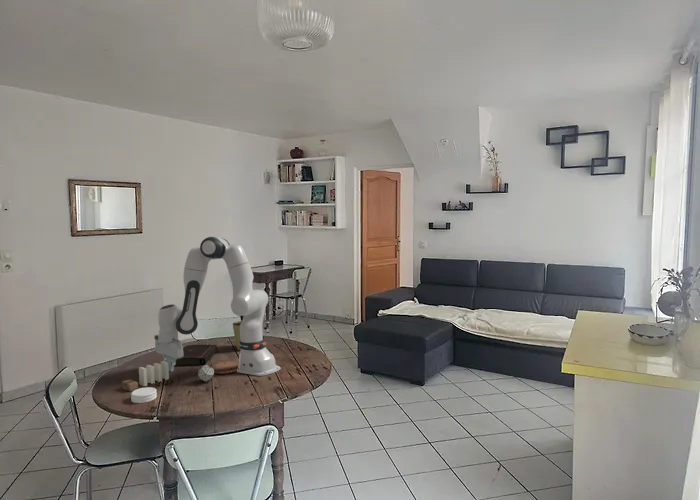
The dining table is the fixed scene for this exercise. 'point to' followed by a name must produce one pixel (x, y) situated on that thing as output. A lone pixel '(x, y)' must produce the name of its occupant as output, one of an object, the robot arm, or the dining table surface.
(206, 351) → the diary
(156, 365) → the domino
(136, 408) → the dining table surface
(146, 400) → the coaster
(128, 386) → the block
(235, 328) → the potted cactus
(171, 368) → the domino
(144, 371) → the domino
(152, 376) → the domino
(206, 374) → the game die
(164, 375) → the domino
